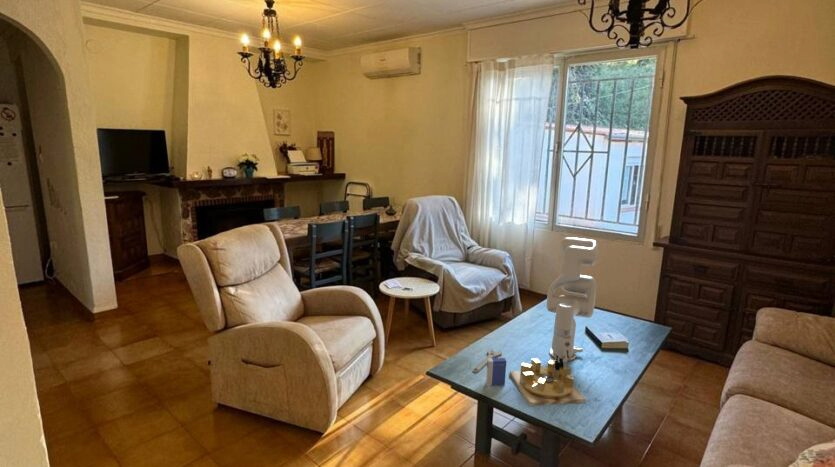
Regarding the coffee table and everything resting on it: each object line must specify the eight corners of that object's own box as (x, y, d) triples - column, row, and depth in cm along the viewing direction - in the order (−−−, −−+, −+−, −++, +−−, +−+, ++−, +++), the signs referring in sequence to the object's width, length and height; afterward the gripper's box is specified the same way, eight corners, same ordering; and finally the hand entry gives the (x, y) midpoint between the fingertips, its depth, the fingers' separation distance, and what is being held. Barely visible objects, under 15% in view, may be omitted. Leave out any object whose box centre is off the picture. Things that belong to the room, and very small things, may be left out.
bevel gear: (540, 365, 206) (541, 353, 204) (582, 387, 189) (584, 373, 187) (509, 380, 192) (510, 367, 191) (552, 405, 176) (553, 391, 174)
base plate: (559, 371, 204) (559, 368, 204) (585, 402, 181) (585, 398, 181) (509, 374, 201) (509, 371, 201) (529, 405, 178) (530, 402, 177)
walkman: (502, 381, 195) (504, 357, 192) (504, 385, 192) (506, 360, 189) (485, 382, 194) (487, 357, 191) (487, 385, 191) (488, 360, 189)
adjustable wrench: (477, 374, 201) (477, 371, 201) (465, 369, 205) (465, 366, 205) (503, 354, 220) (503, 351, 220) (492, 350, 224) (492, 347, 224)
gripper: (579, 338, 185) (574, 377, 189) (562, 323, 200) (558, 360, 203) (562, 338, 184) (558, 378, 188) (547, 324, 198) (543, 361, 202)
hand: (558, 369), depth 196 cm, fingers closed
